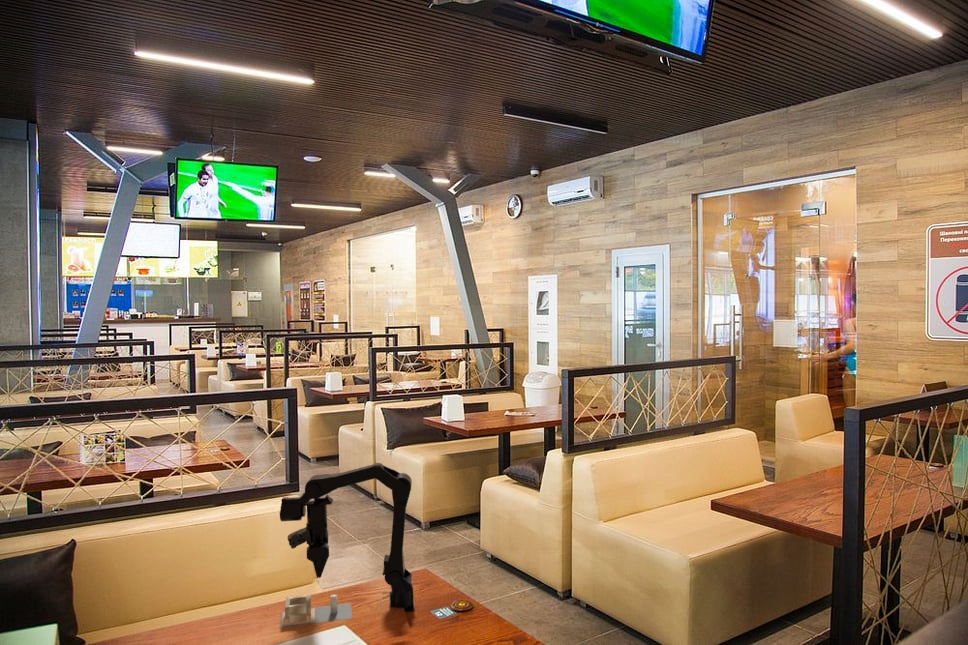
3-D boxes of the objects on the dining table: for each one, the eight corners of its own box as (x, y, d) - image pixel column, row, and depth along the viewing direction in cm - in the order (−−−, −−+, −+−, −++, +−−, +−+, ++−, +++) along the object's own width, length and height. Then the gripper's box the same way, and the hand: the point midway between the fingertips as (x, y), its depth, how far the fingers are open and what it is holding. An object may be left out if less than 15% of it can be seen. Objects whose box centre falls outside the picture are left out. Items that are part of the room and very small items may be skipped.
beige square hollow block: (311, 609, 196) (310, 594, 196) (310, 620, 189) (310, 604, 189) (286, 612, 194) (286, 597, 194) (285, 623, 187) (284, 607, 187)
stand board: (350, 605, 201) (350, 586, 200) (352, 621, 190) (351, 601, 190) (281, 614, 196) (281, 595, 196) (279, 631, 185) (278, 610, 185)
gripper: (290, 513, 204) (291, 564, 204) (287, 531, 186) (289, 587, 186) (327, 509, 206) (329, 559, 207) (328, 527, 188) (330, 582, 188)
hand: (318, 571), depth 197 cm, fingers open, 9 cm apart
